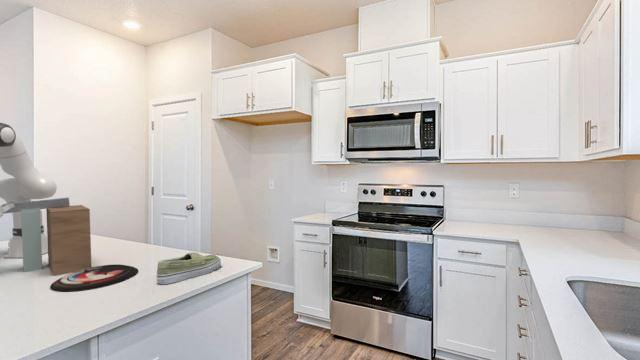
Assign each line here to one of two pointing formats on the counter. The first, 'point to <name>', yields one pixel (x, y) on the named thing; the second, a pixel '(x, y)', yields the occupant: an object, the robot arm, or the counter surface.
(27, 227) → the socket post
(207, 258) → the boat shoe
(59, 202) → the bar
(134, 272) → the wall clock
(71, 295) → the counter surface
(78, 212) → the brown wooden block
